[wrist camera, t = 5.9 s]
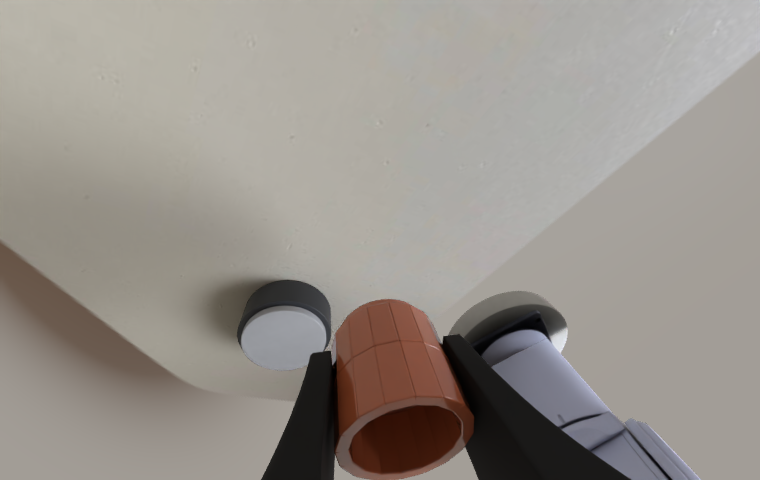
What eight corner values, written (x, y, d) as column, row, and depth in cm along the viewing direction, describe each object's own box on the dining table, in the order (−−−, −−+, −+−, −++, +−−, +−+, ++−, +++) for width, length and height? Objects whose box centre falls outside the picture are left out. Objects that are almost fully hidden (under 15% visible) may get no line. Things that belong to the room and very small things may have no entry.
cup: (444, 337, 13) (492, 440, 9) (365, 380, 13) (381, 494, 9) (402, 275, 11) (441, 373, 7) (311, 327, 11) (304, 444, 8)
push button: (346, 318, 20) (348, 346, 18) (282, 355, 21) (277, 386, 19) (296, 265, 18) (292, 290, 16) (226, 308, 18) (212, 338, 16)
